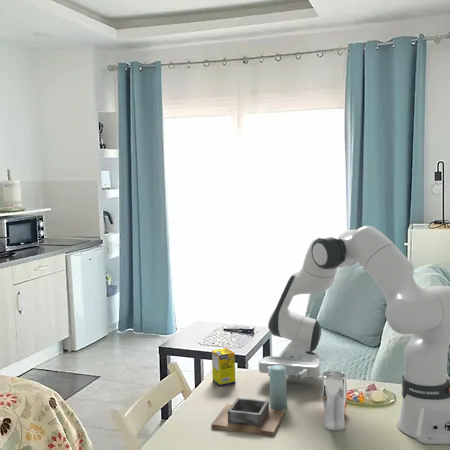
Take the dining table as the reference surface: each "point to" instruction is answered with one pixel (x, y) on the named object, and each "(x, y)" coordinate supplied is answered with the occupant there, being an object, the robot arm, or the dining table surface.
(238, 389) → the dining table surface
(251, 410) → the cup bracket
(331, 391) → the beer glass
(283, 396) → the teal cylinder
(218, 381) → the supplement box
